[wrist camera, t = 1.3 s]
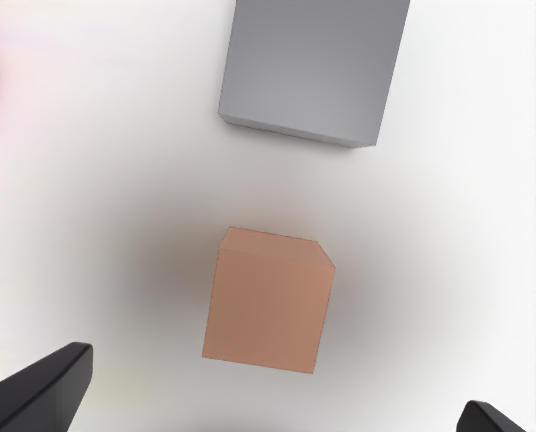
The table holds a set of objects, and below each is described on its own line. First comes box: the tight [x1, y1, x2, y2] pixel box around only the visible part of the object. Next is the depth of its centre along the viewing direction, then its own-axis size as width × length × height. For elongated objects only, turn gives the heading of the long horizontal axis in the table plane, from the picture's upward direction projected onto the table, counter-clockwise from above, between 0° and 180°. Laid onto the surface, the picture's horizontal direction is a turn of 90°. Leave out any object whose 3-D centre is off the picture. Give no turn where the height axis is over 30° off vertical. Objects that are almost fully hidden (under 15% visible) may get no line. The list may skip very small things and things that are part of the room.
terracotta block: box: [202, 227, 335, 374], centre depth 18 cm, size 5×5×5 cm
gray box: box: [218, 0, 410, 148], centre depth 17 cm, size 8×7×4 cm
